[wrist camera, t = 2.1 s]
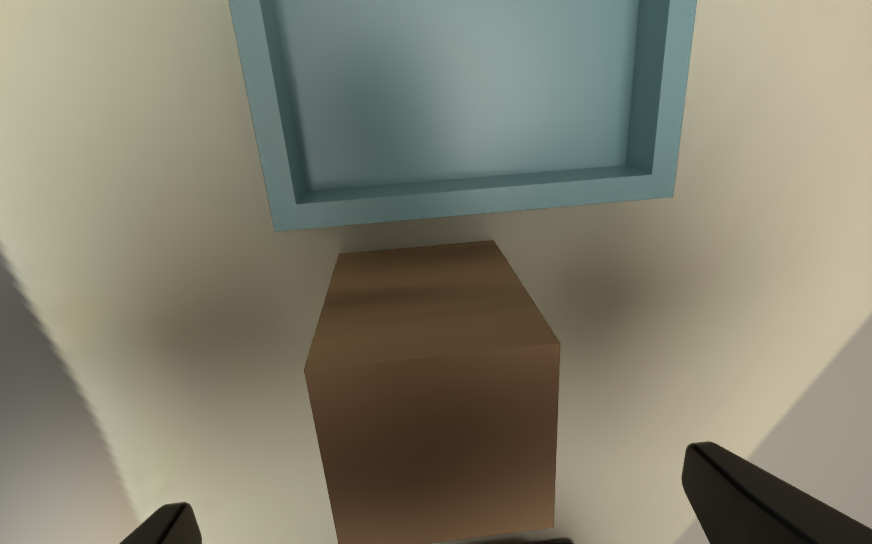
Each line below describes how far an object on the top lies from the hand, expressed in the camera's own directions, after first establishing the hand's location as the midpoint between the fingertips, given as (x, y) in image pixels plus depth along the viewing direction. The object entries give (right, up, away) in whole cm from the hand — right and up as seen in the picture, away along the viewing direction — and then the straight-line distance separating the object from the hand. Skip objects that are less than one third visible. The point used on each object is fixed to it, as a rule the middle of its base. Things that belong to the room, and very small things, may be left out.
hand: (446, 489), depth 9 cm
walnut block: (-1, +3, +6) cm, 7 cm away
